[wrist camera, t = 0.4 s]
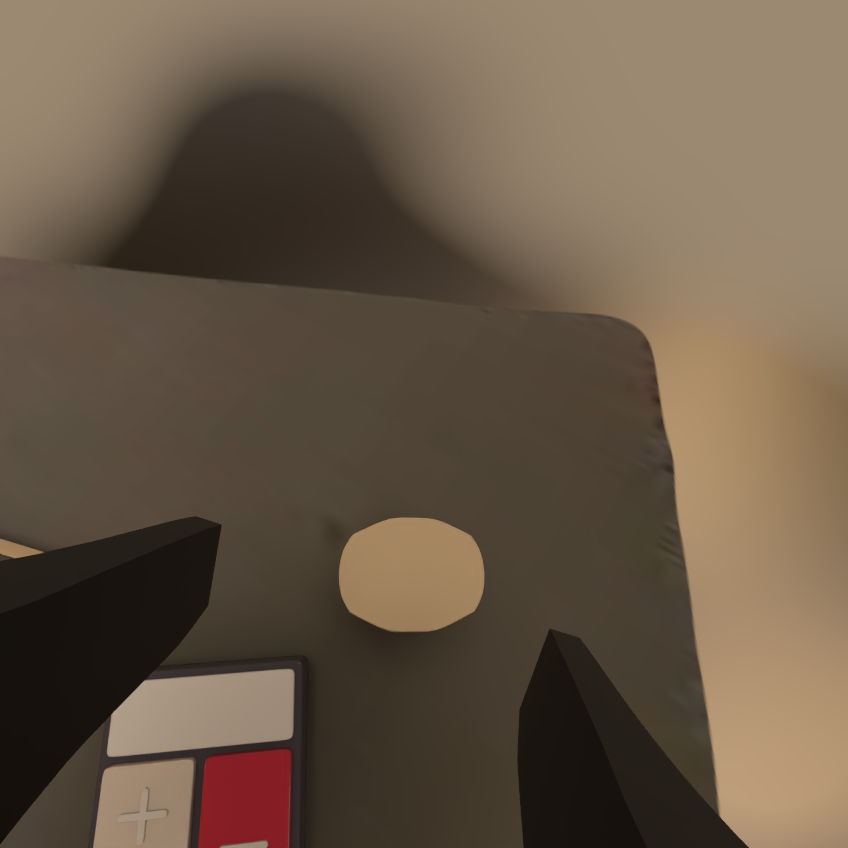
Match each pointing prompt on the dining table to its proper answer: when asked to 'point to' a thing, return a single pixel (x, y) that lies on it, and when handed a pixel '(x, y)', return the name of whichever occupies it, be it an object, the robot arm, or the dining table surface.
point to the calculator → (207, 759)
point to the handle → (411, 574)
